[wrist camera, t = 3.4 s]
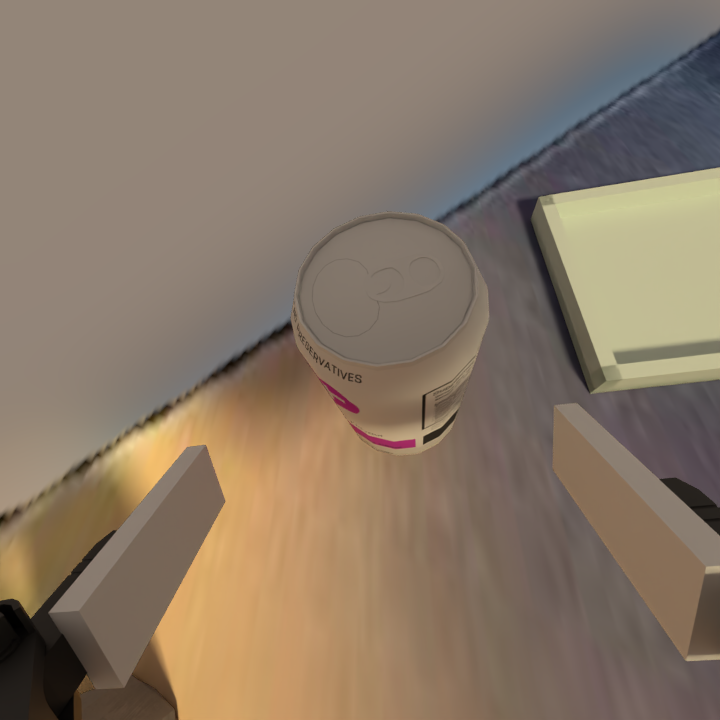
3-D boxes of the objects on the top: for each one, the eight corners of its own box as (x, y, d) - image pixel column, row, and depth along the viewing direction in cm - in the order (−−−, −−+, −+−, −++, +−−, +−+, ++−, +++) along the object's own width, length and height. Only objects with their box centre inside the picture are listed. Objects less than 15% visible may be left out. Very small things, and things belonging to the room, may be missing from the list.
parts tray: (784, 180, 31) (813, 152, 28) (919, 357, 24) (971, 340, 22) (530, 219, 33) (538, 196, 30) (590, 393, 26) (606, 381, 24)
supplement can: (363, 471, 26) (301, 413, 13) (336, 367, 30) (265, 234, 16) (475, 438, 26) (536, 342, 12) (435, 337, 29) (447, 177, 16)
